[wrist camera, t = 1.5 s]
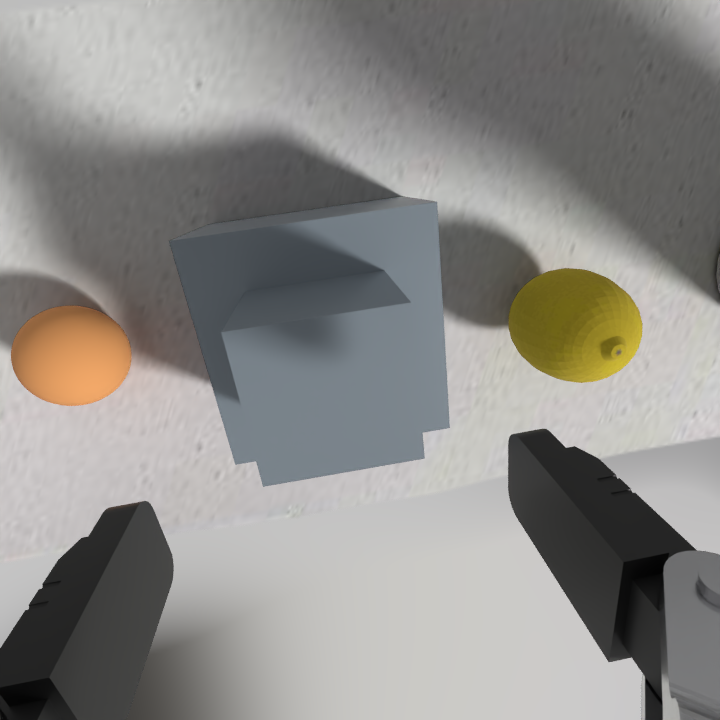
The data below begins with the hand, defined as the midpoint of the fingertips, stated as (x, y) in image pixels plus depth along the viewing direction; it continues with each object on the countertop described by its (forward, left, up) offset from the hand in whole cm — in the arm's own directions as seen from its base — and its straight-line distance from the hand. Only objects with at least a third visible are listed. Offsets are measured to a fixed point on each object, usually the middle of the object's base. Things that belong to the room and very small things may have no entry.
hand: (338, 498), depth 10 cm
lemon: (-13, +2, -16) cm, 21 cm away
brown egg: (+12, 0, -14) cm, 19 cm away
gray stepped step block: (0, 0, -16) cm, 16 cm away
